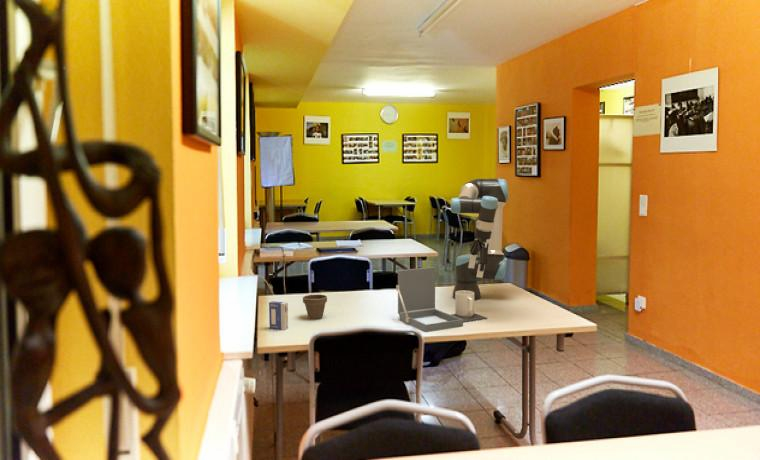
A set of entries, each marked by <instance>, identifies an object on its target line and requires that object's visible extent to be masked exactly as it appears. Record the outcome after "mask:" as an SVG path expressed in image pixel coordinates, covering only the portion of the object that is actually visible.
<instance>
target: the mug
mask: <svg viewBox="0 0 760 460" xmlns="http://www.w3.org/2000/svg"><path fill="white" fill-rule="evenodd" d="M454 299H455V301H454V302H455V303H454V304H455V305H454V307H455V308H454V314H456V315H457V316H458V317H464V318H467V317H472V316H473V315H474V313H475V300H474V292H472V291H465V290H463V291H456V292H455V298H454Z"/></svg>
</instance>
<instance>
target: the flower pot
mask: <svg viewBox="0 0 760 460" xmlns="http://www.w3.org/2000/svg"><path fill="white" fill-rule="evenodd" d="M302 303H303V304H304V306H305V311H306V313H307V317H308V319H310V320H319V319H322V318H323V316H324V312H325V309H326V307H325V306H326V303H328V295H326V294H325V295H324V294H308V295H304V296H302Z"/></svg>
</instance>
